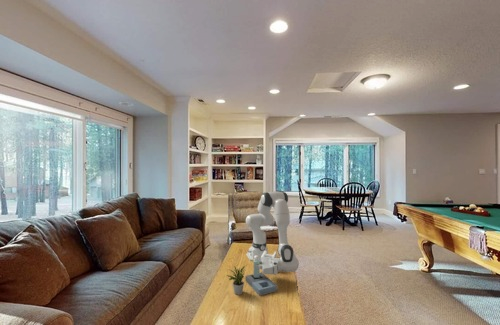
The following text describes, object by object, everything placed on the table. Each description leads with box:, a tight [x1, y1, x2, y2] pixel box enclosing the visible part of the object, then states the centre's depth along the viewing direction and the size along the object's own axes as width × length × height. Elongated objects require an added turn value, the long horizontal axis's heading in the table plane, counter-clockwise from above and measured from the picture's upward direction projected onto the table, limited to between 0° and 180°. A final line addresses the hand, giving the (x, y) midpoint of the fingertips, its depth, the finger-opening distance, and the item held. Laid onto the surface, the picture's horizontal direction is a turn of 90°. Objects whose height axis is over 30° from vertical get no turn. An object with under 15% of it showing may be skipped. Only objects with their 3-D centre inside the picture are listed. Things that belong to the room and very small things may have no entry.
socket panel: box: [244, 271, 278, 296], centre depth 162 cm, size 21×13×4 cm, turn 25°
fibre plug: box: [253, 255, 261, 278], centre depth 168 cm, size 4×4×14 cm
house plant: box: [226, 265, 247, 296], centre depth 155 cm, size 14×14×16 cm
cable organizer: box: [260, 250, 278, 271], centre depth 191 cm, size 15×11×12 cm
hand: (255, 264), depth 168 cm, fingers closed on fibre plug, 4 cm apart
